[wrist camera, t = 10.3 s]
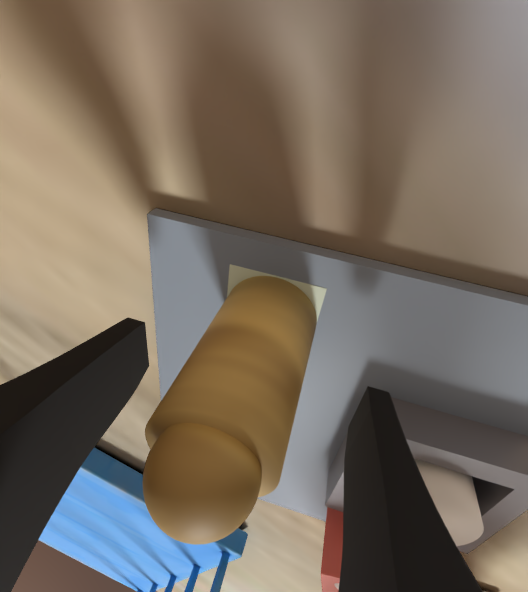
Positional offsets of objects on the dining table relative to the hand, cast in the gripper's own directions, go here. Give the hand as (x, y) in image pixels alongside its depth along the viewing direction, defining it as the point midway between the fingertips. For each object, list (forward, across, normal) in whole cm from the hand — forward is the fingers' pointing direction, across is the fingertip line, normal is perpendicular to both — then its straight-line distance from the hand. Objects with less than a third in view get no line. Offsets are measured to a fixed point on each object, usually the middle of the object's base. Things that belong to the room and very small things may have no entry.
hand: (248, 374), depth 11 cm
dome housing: (+4, -8, +6) cm, 11 cm away
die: (+3, -8, +12) cm, 15 cm away
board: (+4, -3, +6) cm, 8 cm away
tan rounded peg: (+3, 0, 0) cm, 3 cm away
